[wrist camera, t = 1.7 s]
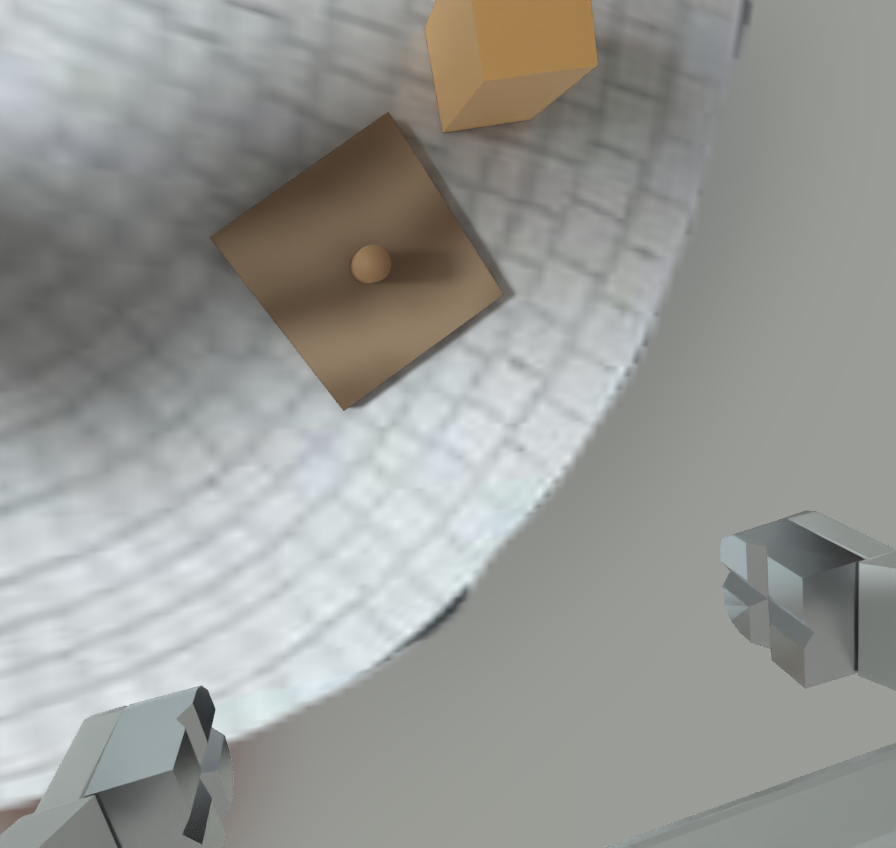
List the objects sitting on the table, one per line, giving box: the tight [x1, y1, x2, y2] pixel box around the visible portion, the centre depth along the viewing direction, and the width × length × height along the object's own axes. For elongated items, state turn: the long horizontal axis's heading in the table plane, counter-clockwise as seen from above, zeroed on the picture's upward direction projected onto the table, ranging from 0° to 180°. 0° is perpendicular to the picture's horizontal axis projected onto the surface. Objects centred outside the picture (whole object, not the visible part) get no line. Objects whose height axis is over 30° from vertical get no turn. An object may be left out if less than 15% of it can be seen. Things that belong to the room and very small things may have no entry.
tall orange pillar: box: [425, 0, 598, 133], centre depth 31 cm, size 6×6×9 cm
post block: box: [210, 112, 503, 411], centre depth 33 cm, size 12×12×6 cm
